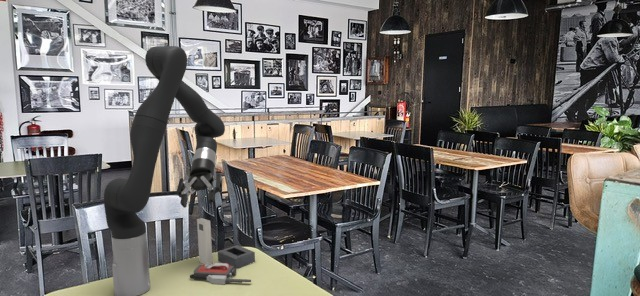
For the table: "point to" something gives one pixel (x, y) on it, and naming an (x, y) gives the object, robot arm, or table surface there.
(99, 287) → the table surface
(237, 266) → the holder
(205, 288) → the table surface
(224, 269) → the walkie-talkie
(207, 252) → the white tall block
